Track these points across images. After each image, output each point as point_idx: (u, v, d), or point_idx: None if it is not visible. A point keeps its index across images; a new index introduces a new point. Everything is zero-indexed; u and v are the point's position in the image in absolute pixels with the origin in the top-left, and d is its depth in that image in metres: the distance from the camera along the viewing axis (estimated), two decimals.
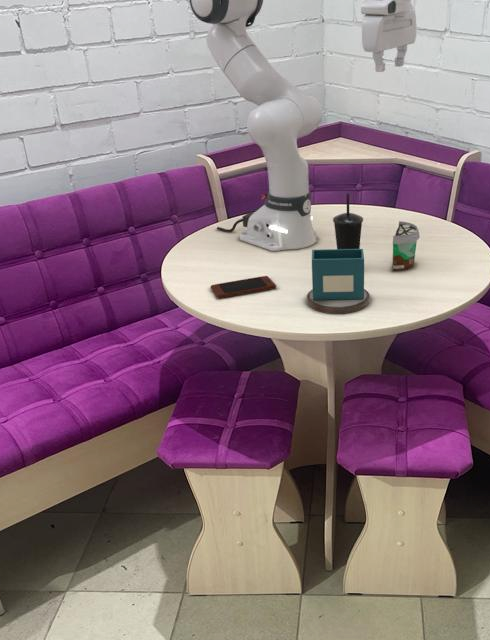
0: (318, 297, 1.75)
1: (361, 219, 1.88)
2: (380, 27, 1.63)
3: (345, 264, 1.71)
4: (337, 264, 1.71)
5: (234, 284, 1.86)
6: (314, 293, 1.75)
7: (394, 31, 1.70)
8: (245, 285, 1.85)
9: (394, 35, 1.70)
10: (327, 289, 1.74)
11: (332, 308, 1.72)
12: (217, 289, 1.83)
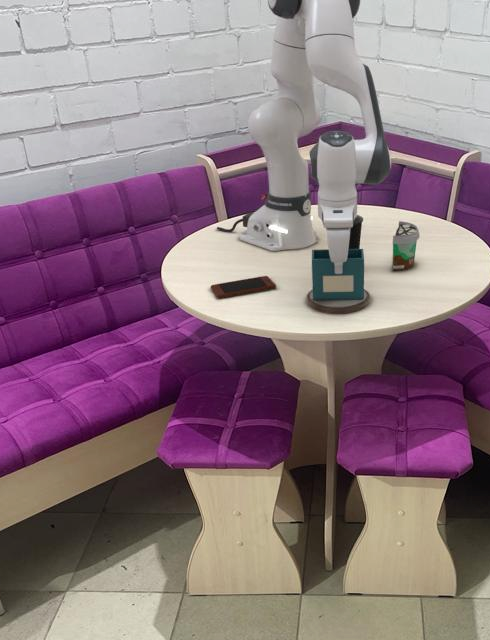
0: (318, 297, 1.75)
1: (361, 219, 1.88)
2: None
3: (345, 264, 1.71)
4: None
5: (234, 284, 1.86)
6: (314, 293, 1.75)
7: None
8: (245, 285, 1.85)
9: None
10: (327, 289, 1.74)
11: (332, 308, 1.72)
12: (217, 289, 1.83)
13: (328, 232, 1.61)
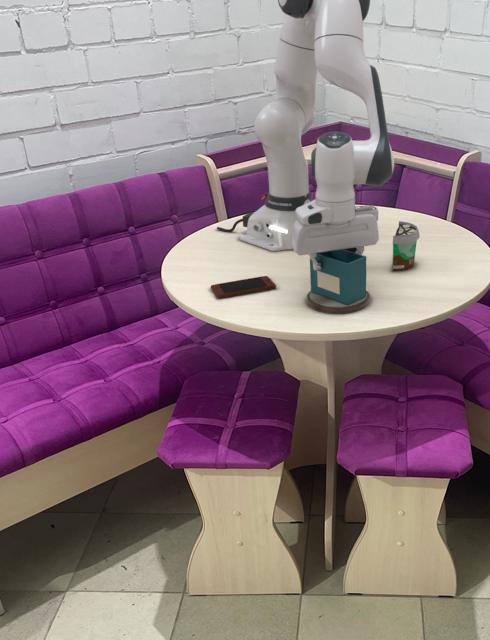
0: (314, 290, 1.79)
1: None
2: (300, 235, 1.66)
3: (333, 265, 1.71)
4: (327, 263, 1.72)
5: (234, 284, 1.86)
6: (311, 285, 1.79)
7: (332, 236, 1.69)
8: (245, 285, 1.85)
9: (331, 239, 1.69)
10: (320, 285, 1.76)
11: (332, 308, 1.72)
12: (217, 289, 1.83)
13: (295, 221, 1.68)
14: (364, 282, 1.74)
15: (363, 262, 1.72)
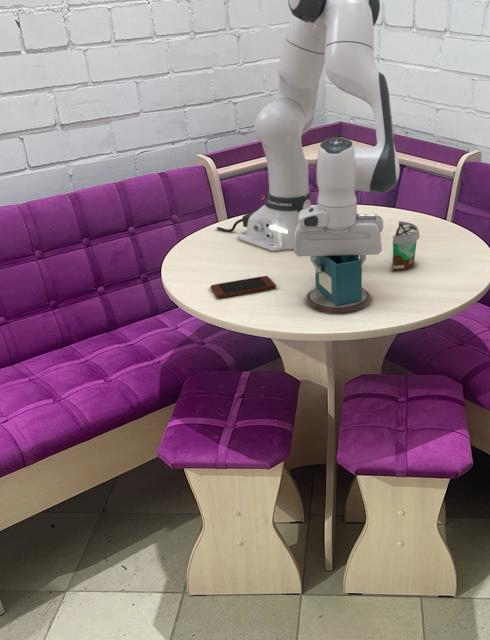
0: (317, 286, 1.80)
1: None
2: (297, 236, 1.68)
3: (328, 264, 1.71)
4: (324, 261, 1.73)
5: (234, 284, 1.86)
6: (316, 281, 1.81)
7: (331, 241, 1.70)
8: (245, 285, 1.85)
9: (330, 244, 1.70)
10: (320, 282, 1.78)
11: (332, 308, 1.72)
12: (217, 289, 1.83)
13: (298, 223, 1.71)
14: (359, 286, 1.73)
15: (357, 266, 1.70)
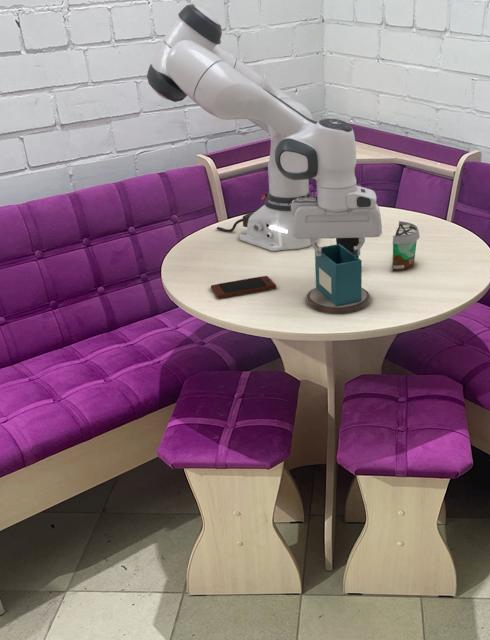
0: (317, 286, 1.81)
1: None
2: None
3: (328, 264, 1.71)
4: (324, 261, 1.73)
5: (234, 284, 1.86)
6: (316, 281, 1.81)
7: None
8: (245, 285, 1.85)
9: None
10: (320, 282, 1.78)
11: (332, 308, 1.72)
12: (217, 289, 1.83)
13: (377, 209, 1.65)
14: (359, 286, 1.73)
15: (357, 266, 1.70)
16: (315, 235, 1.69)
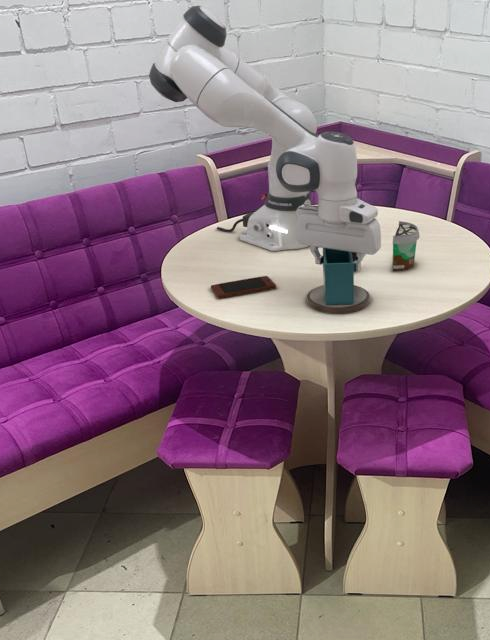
0: None
1: None
2: None
3: None
4: None
5: (234, 284, 1.86)
6: None
7: None
8: (245, 285, 1.85)
9: None
10: (323, 279, 1.79)
11: (332, 308, 1.72)
12: (217, 289, 1.83)
13: (370, 226, 1.64)
14: (350, 289, 1.71)
15: (348, 268, 1.69)
16: (314, 243, 1.72)
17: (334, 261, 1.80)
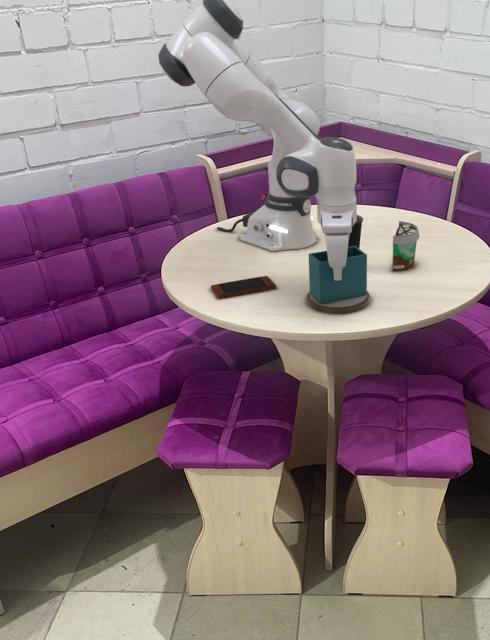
0: None
1: (361, 219, 1.88)
2: (347, 245, 1.62)
3: None
4: None
5: (234, 284, 1.86)
6: None
7: None
8: (245, 285, 1.85)
9: None
10: None
11: (332, 308, 1.72)
12: (217, 289, 1.83)
13: (327, 237, 1.62)
14: (318, 287, 1.72)
15: (317, 266, 1.70)
16: None
17: None
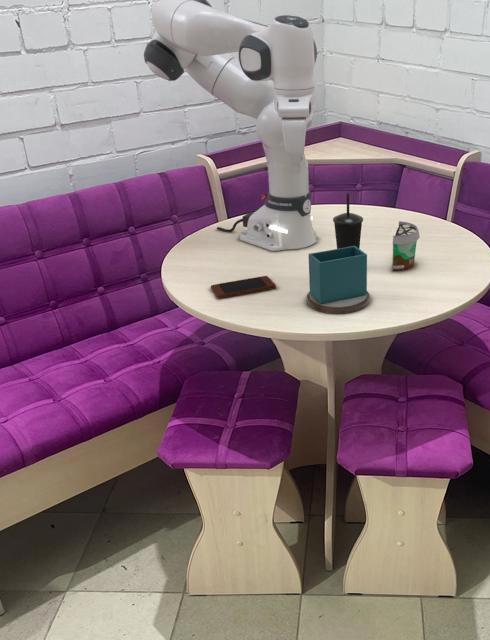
0: None
1: (361, 219, 1.88)
2: (305, 130, 1.53)
3: None
4: None
5: (234, 284, 1.86)
6: None
7: None
8: (245, 285, 1.85)
9: None
10: None
11: (332, 308, 1.72)
12: (217, 289, 1.83)
13: (283, 122, 1.52)
14: (319, 287, 1.72)
15: (317, 266, 1.70)
16: None
17: None
